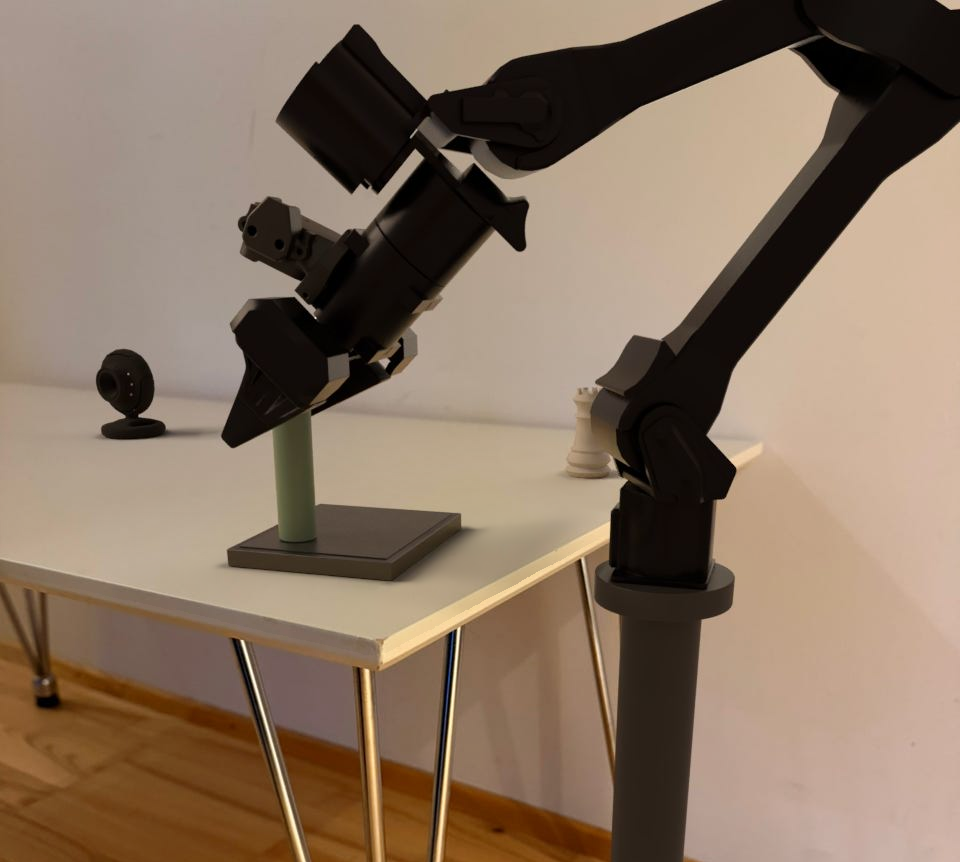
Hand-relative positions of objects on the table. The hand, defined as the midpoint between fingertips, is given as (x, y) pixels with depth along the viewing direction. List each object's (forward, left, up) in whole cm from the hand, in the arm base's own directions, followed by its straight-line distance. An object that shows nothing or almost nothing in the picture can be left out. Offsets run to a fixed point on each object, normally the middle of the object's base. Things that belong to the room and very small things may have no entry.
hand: (258, 431), depth 66 cm
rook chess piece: (-15, -34, -9) cm, 38 cm away
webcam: (+43, -43, -9) cm, 61 cm away
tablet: (-4, -4, -9) cm, 11 cm away
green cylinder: (-2, -1, -7) cm, 8 cm away
